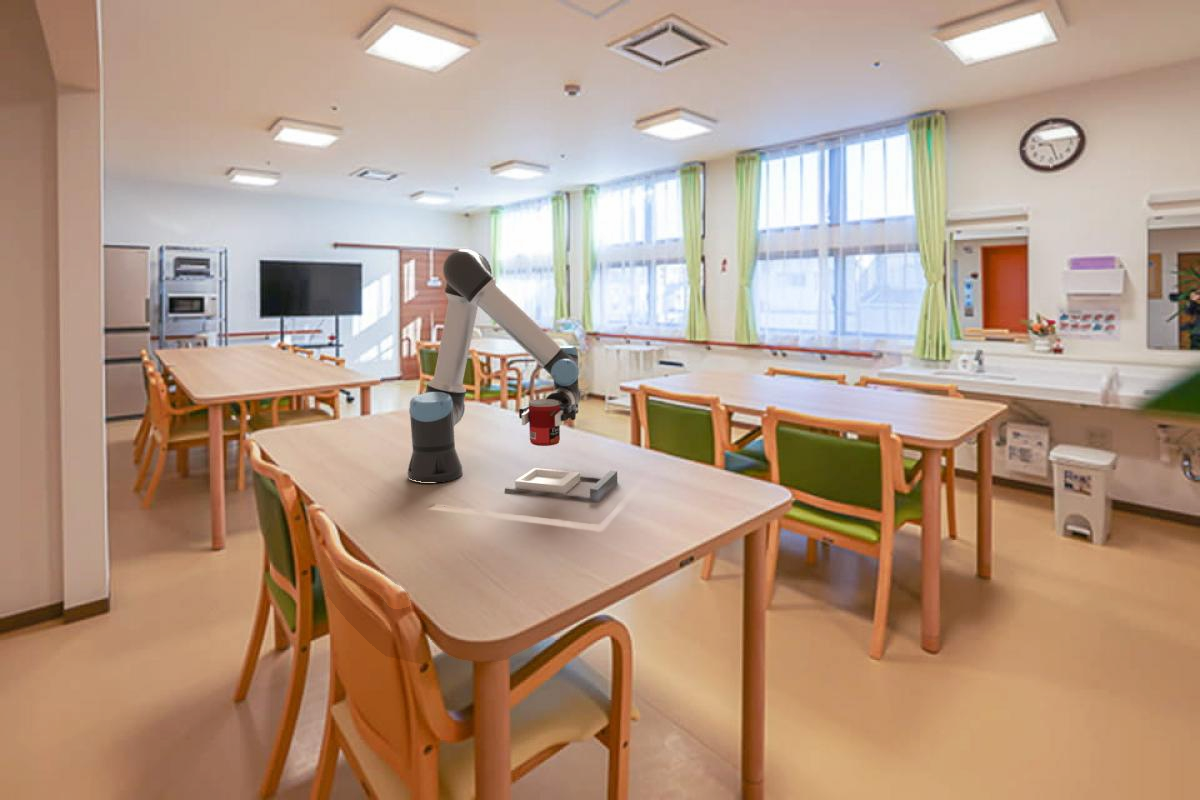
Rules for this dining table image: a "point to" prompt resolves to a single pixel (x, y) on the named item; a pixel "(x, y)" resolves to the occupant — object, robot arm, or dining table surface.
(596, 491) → the slide board
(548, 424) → the canned food
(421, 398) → the robot arm
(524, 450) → the dining table surface
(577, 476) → the carriage
